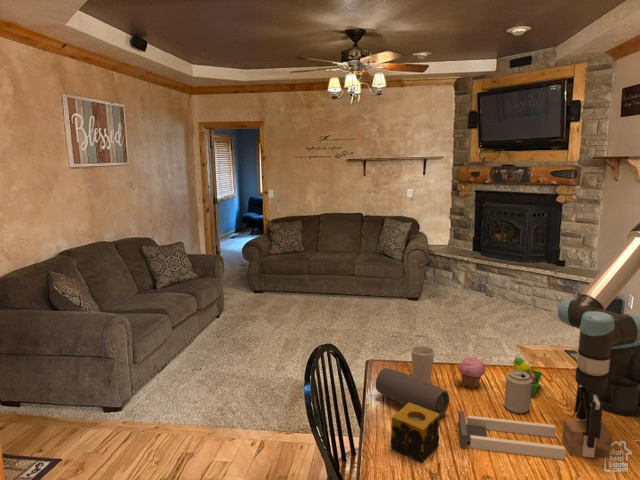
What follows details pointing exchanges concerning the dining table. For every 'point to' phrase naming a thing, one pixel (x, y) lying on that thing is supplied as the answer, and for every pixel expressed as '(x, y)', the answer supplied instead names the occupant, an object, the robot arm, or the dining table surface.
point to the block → (575, 439)
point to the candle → (415, 432)
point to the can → (518, 391)
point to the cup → (422, 362)
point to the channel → (514, 445)
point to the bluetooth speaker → (412, 391)
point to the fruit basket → (534, 375)
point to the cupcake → (471, 371)
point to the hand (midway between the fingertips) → (583, 448)
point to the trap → (468, 430)
